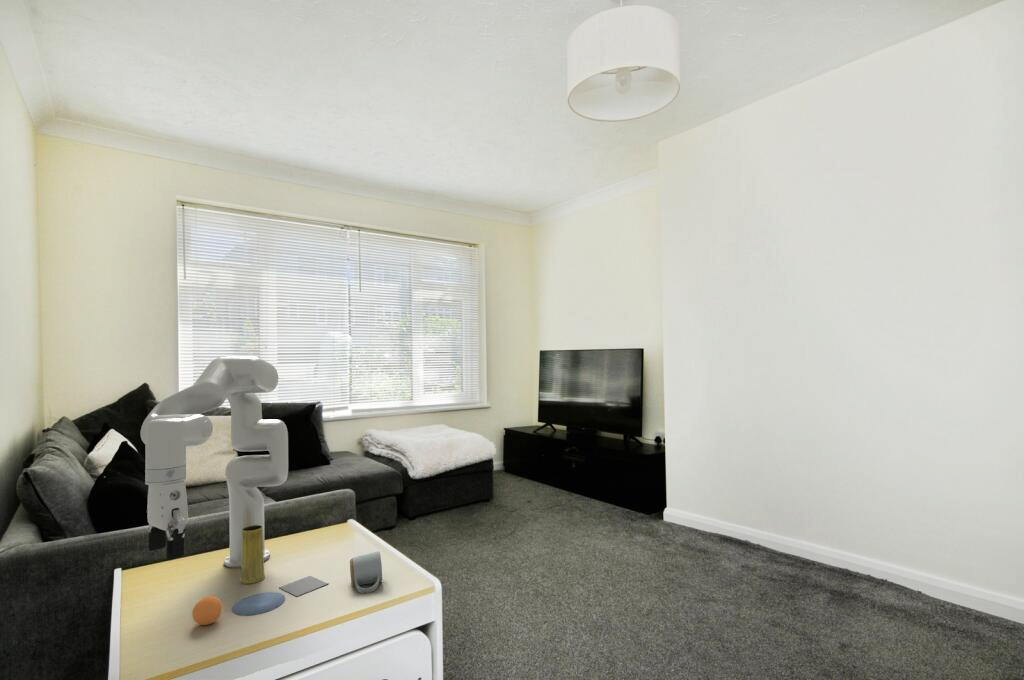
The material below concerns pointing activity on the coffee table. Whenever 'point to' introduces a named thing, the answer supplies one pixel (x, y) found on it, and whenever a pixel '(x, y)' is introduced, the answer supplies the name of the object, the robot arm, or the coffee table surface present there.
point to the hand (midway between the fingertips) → (165, 553)
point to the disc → (258, 603)
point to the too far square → (303, 586)
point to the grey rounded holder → (366, 571)
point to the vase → (252, 555)
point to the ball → (207, 610)
